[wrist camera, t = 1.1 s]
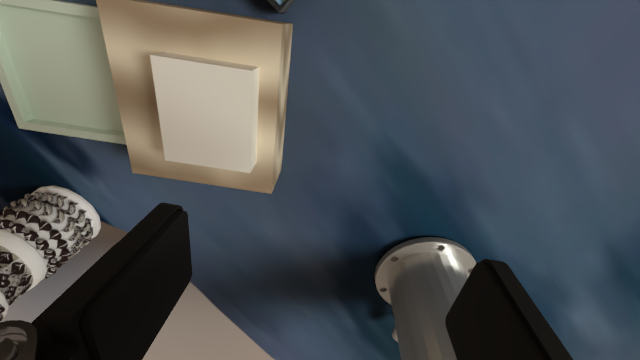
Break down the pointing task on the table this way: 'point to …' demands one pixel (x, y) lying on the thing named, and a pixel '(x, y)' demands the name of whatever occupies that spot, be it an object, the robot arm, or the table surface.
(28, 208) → the decorative candle
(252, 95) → the cream tile
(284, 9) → the disk drive
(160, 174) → the board
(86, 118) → the sage tray
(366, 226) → the table surface
